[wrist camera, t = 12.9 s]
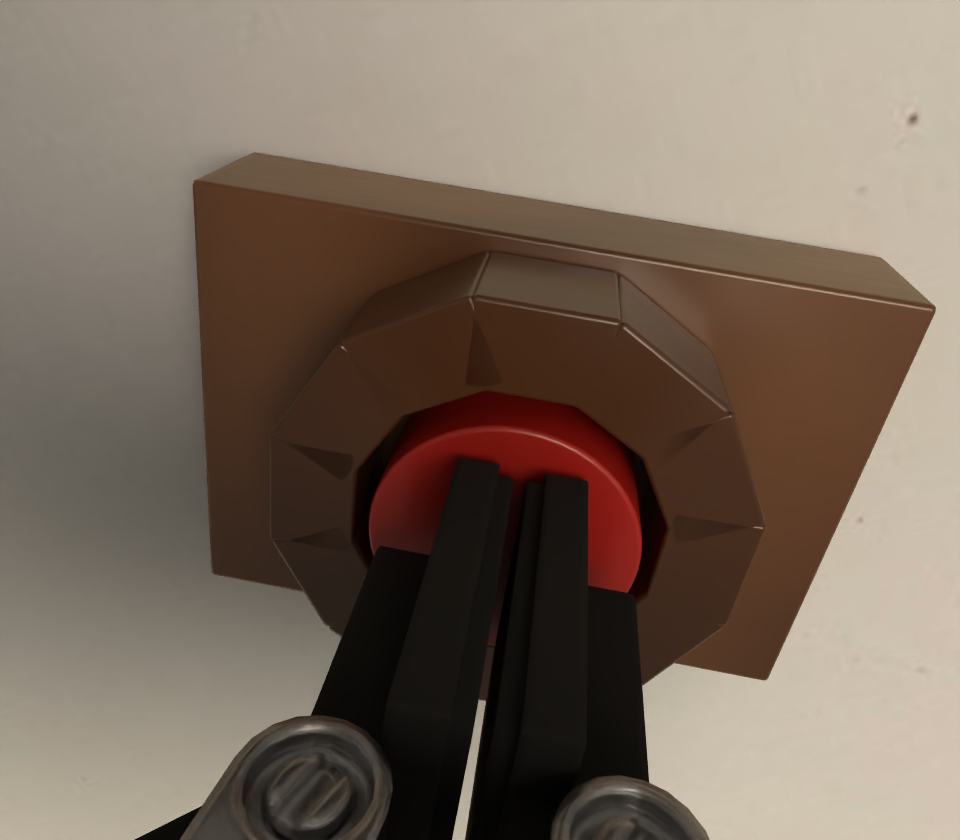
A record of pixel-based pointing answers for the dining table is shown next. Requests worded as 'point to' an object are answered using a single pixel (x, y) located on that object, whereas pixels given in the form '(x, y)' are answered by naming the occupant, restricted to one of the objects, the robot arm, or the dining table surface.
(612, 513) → the button
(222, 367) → the button block
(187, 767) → the dining table surface
